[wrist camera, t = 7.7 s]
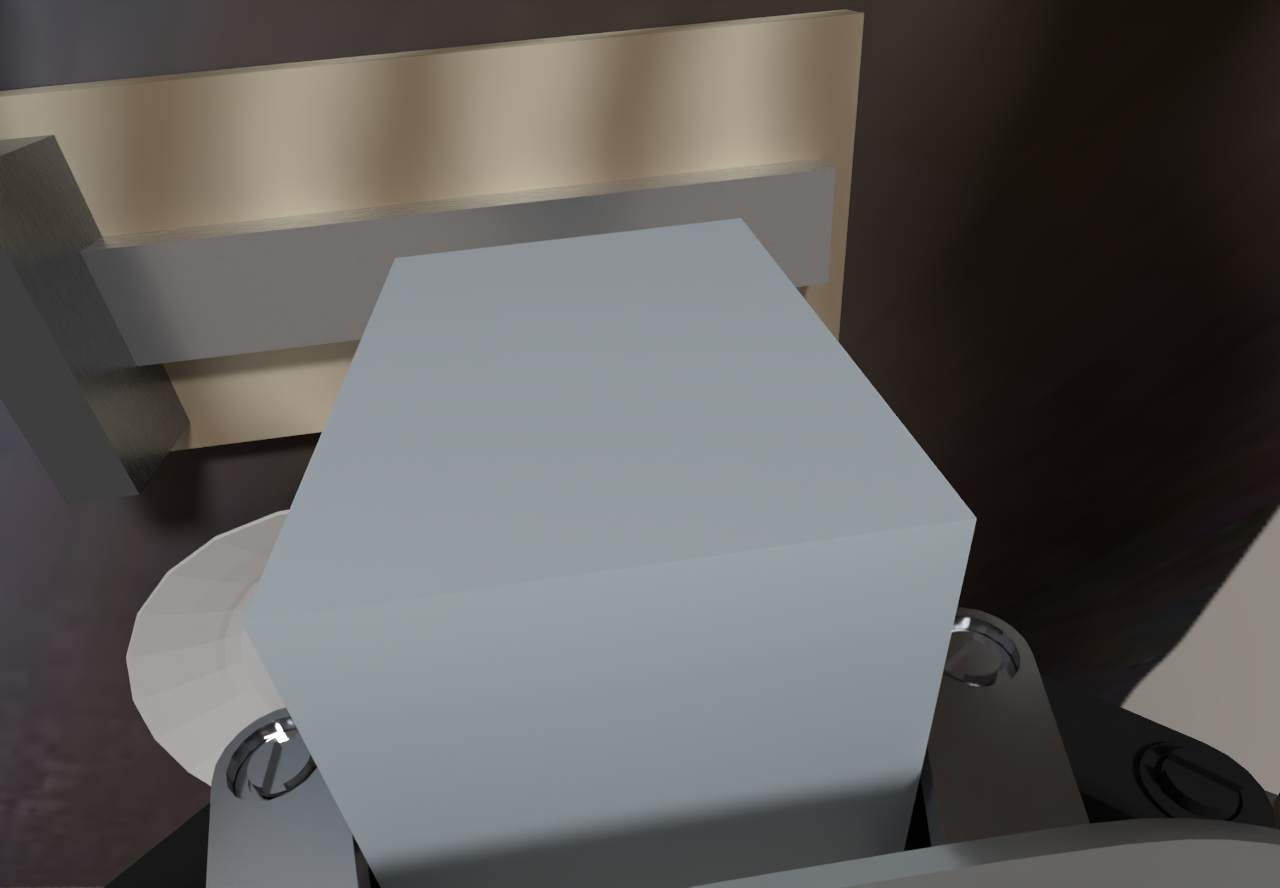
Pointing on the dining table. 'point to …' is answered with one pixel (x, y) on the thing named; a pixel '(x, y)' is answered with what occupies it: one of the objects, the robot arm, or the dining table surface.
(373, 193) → the rail board
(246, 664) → the plate
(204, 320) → the din rail
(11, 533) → the dining table surface
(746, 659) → the block
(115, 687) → the dining table surface
